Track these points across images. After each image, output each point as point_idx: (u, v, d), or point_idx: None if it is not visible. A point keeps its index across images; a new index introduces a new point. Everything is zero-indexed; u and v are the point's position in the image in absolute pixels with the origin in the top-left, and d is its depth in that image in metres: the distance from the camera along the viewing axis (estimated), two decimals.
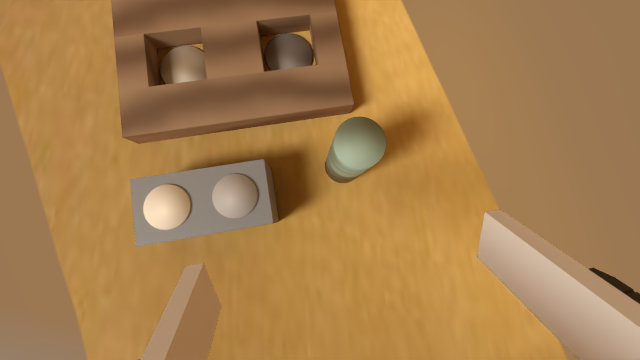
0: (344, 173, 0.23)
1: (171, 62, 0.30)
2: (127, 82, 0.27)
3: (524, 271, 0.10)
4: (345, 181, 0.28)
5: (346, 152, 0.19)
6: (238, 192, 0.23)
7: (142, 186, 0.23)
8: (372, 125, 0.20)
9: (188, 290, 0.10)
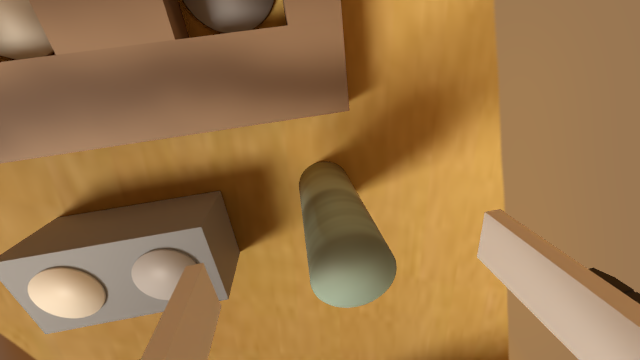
0: None
1: None
2: None
3: (524, 271, 0.10)
4: None
5: (329, 290, 0.12)
6: (171, 272, 0.16)
7: (13, 271, 0.15)
8: (377, 251, 0.11)
9: (188, 291, 0.10)
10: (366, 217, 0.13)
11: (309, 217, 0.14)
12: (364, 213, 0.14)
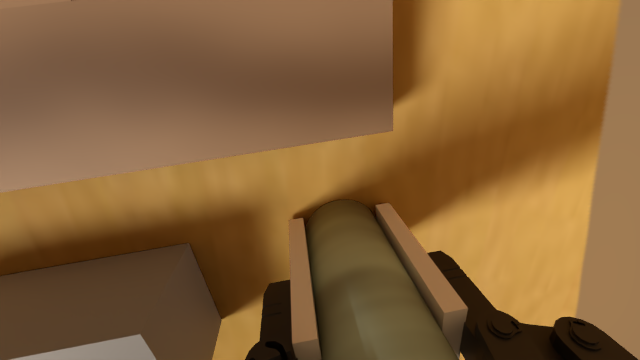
0: None
1: None
2: None
3: None
4: None
5: None
6: None
7: None
8: None
9: (301, 235, 0.12)
10: (445, 353, 0.07)
11: (330, 331, 0.08)
12: (437, 337, 0.07)
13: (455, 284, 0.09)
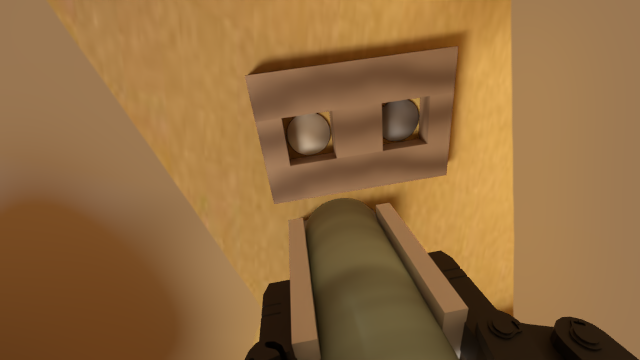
0: None
1: (296, 129, 0.33)
2: (272, 162, 0.32)
3: None
4: None
5: None
6: None
7: None
8: None
9: (301, 235, 0.12)
10: (445, 351, 0.07)
11: (329, 329, 0.08)
12: (437, 336, 0.07)
13: (455, 284, 0.09)
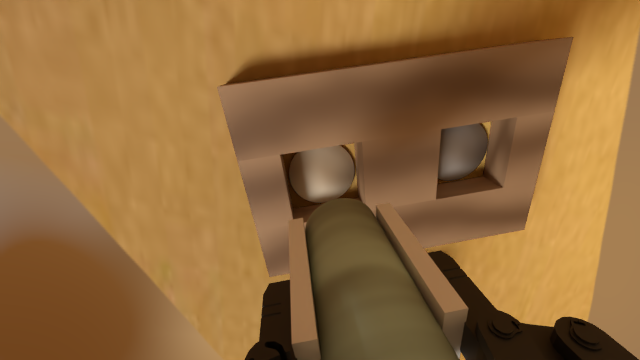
0: None
1: (303, 166, 0.21)
2: (266, 220, 0.20)
3: None
4: None
5: None
6: None
7: None
8: None
9: (301, 235, 0.12)
10: (445, 351, 0.07)
11: (329, 329, 0.08)
12: (437, 336, 0.07)
13: (455, 284, 0.09)
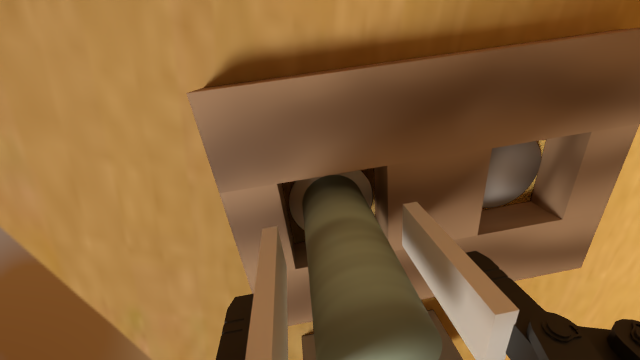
0: None
1: None
2: None
3: (425, 255, 0.12)
4: None
5: None
6: None
7: None
8: (418, 330, 0.08)
9: (273, 245, 0.12)
10: (395, 267, 0.09)
11: (316, 259, 0.11)
12: (391, 259, 0.10)
13: (497, 285, 0.09)
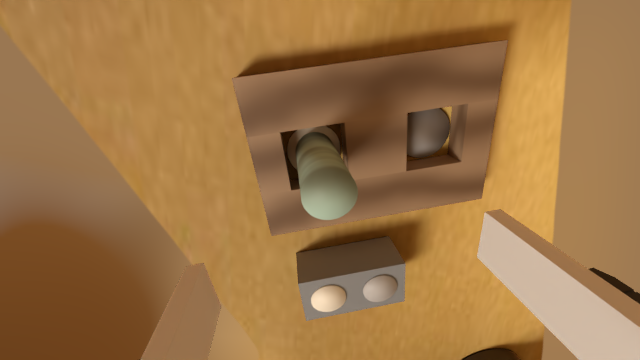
0: None
1: None
2: (269, 187, 0.26)
3: (524, 271, 0.10)
4: None
5: (314, 205, 0.18)
6: (383, 287, 0.29)
7: (308, 287, 0.28)
8: (344, 178, 0.18)
9: (188, 291, 0.10)
10: (340, 161, 0.19)
11: (301, 164, 0.21)
12: (339, 159, 0.20)
13: None
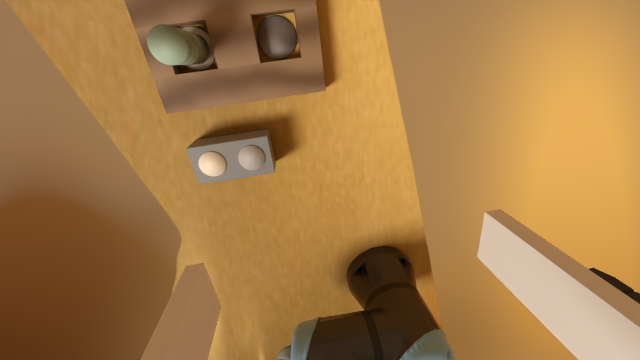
0: None
1: None
2: (158, 70, 0.36)
3: (524, 271, 0.10)
4: None
5: (158, 52, 0.29)
6: (253, 156, 0.40)
7: (194, 152, 0.39)
8: (174, 32, 0.28)
9: (188, 291, 0.10)
10: (181, 30, 0.30)
11: None
12: (183, 30, 0.30)
13: None
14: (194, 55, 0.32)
